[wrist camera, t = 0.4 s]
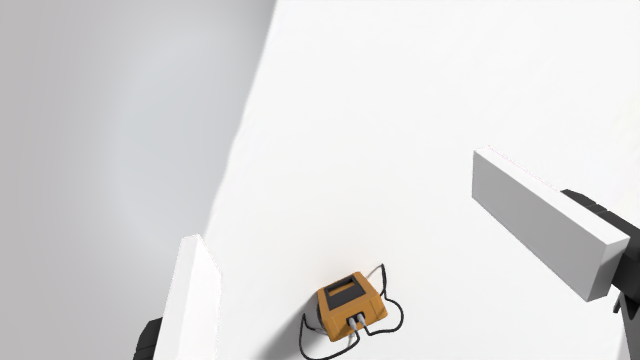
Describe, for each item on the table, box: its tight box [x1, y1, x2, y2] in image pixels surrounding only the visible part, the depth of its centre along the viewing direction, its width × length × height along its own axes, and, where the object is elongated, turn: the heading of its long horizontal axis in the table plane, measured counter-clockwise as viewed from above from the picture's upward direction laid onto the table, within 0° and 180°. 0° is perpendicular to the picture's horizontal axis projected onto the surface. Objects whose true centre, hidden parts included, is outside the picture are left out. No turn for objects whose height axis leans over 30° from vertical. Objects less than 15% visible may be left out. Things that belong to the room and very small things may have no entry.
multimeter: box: [299, 264, 404, 360], centre depth 40 cm, size 15×10×20 cm
